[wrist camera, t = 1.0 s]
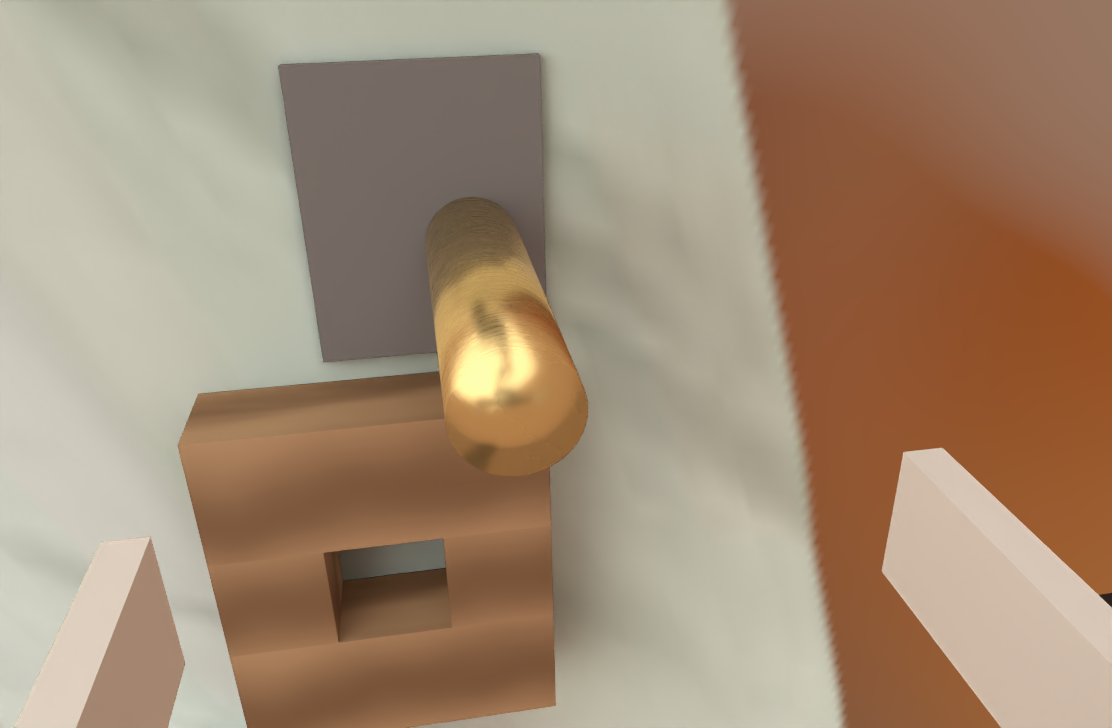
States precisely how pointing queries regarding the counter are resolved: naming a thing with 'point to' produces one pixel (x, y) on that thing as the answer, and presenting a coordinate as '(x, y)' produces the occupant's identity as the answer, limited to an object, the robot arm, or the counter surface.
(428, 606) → the hole block
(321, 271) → the mat
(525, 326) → the peg
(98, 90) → the counter surface
